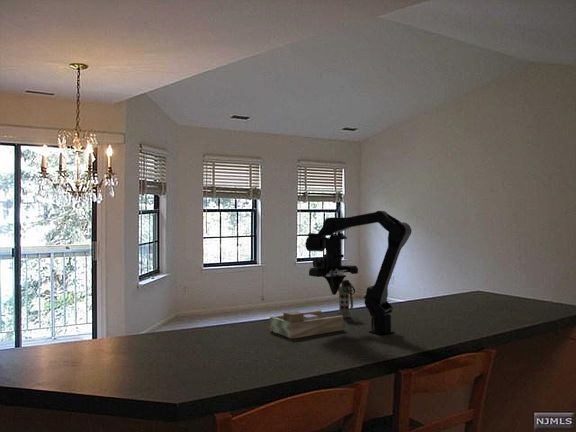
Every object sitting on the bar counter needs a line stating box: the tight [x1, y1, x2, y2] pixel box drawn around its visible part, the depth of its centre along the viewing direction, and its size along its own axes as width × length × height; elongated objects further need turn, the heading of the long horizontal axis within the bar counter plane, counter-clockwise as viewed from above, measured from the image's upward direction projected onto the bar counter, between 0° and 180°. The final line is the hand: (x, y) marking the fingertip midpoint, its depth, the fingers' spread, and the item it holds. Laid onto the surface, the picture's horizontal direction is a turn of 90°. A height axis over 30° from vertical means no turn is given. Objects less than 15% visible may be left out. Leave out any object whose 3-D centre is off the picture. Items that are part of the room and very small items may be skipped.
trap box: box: [269, 309, 344, 339], centre depth 181 cm, size 14×22×5 cm, turn 123°
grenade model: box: [337, 278, 356, 319], centre depth 204 cm, size 6×7×15 cm
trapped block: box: [304, 314, 318, 321], centre depth 186 cm, size 4×4×4 cm
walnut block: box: [282, 310, 304, 323], centre depth 175 cm, size 5×5×5 cm
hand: (334, 294), depth 186 cm, fingers closed
